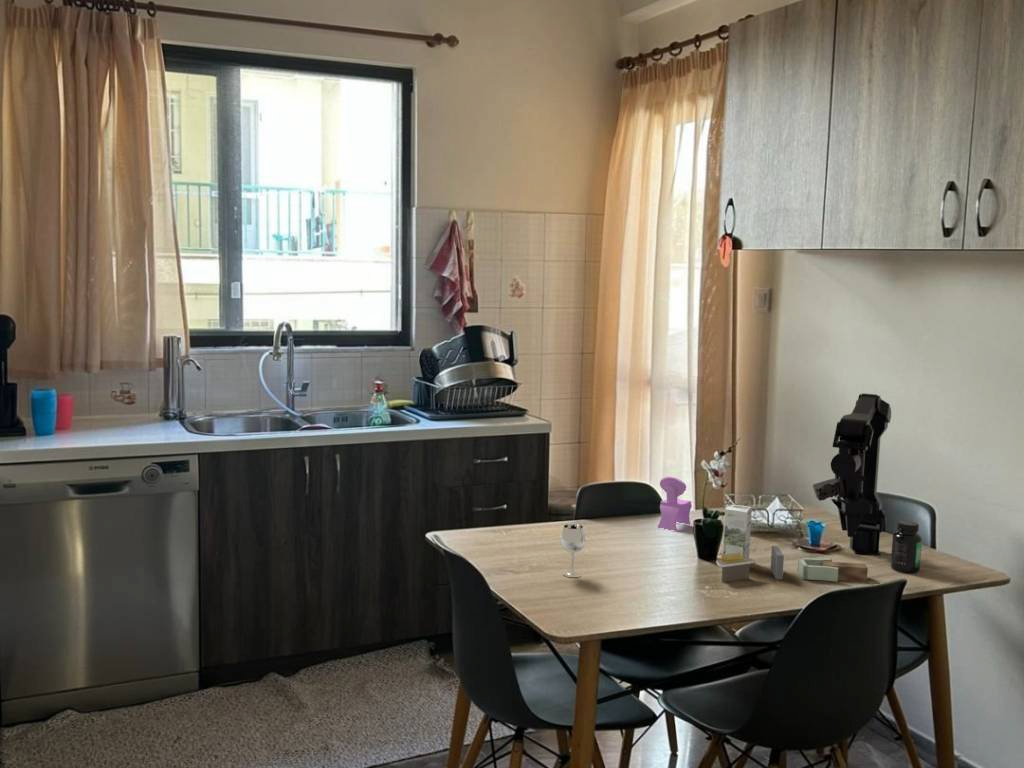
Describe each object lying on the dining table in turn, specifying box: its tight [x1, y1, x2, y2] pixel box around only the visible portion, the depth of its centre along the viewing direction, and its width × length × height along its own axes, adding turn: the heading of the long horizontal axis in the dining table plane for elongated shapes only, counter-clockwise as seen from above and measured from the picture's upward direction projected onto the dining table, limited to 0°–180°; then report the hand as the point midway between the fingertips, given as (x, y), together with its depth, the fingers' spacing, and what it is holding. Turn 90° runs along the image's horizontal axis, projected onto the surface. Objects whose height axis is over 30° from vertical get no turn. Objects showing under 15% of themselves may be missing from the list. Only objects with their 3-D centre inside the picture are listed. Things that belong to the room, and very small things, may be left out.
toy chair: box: [656, 476, 692, 532], centre depth 289 cm, size 8×9×15 cm
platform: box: [716, 552, 756, 583], centre depth 243 cm, size 12×18×7 cm, turn 115°
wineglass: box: [560, 523, 586, 576], centre depth 243 cm, size 6×6×12 cm
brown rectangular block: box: [822, 561, 869, 582], centre depth 246 cm, size 10×4×4 cm, turn 83°
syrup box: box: [722, 504, 753, 558], centre depth 255 cm, size 6×6×14 cm
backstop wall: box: [770, 545, 785, 581], centre depth 247 cm, size 2×8×6 cm, turn 175°
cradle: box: [797, 557, 839, 583], centre depth 246 cm, size 8×9×3 cm
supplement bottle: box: [890, 520, 923, 574], centre depth 253 cm, size 7×7×12 cm
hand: (847, 533), depth 244 cm, fingers open, 5 cm apart
